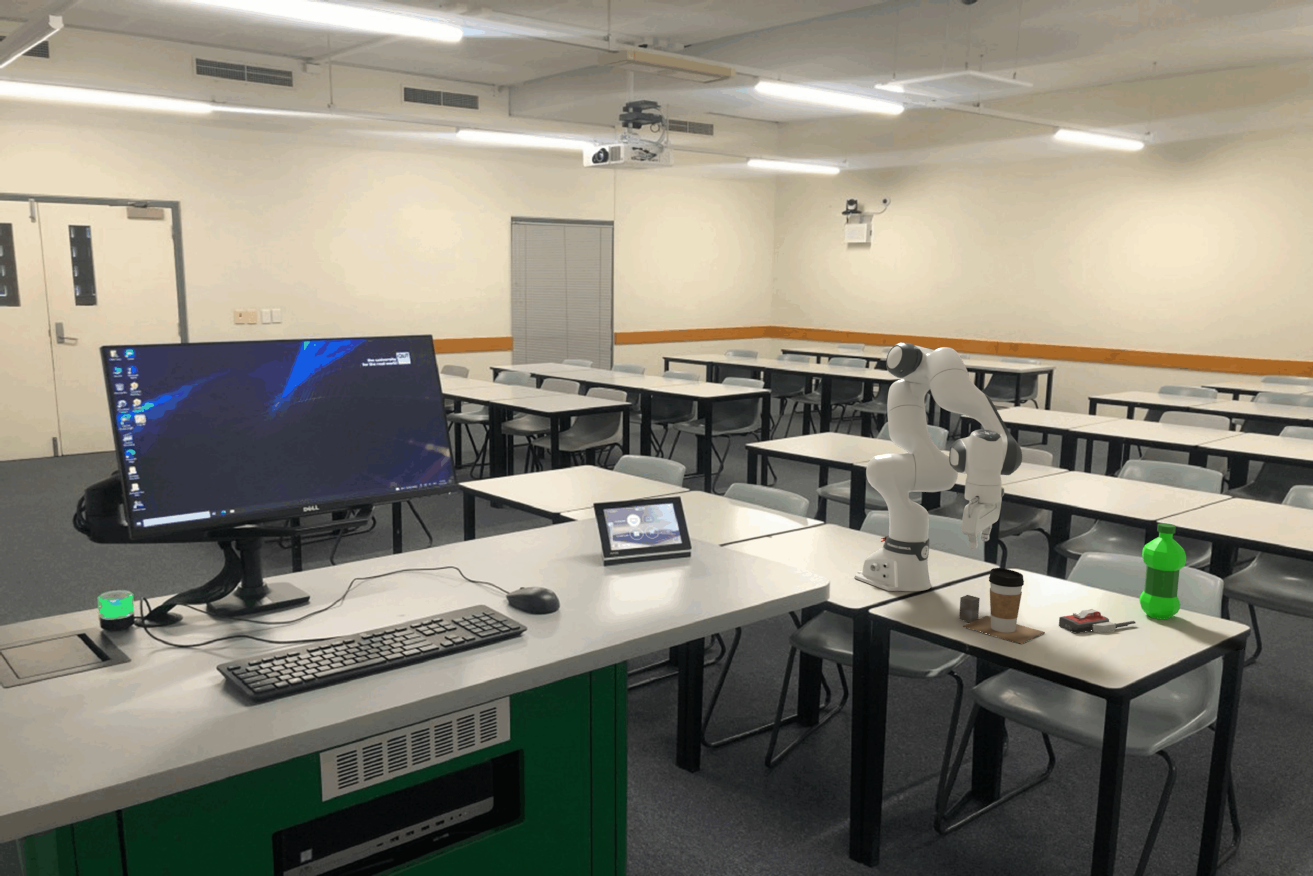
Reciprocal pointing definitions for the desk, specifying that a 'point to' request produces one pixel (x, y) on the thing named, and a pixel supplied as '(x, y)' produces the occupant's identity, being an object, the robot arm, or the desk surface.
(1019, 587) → the coffee cup
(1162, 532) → the plastic bottle
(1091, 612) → the walkie-talkie
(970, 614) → the walnut strip
